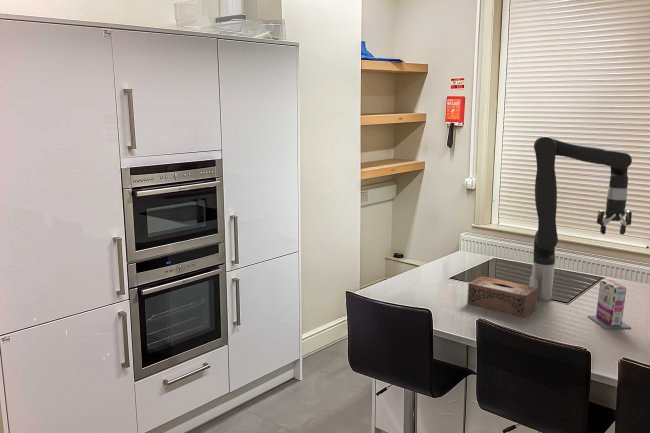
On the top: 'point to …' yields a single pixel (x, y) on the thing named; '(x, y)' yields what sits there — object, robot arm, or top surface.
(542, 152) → the robot arm
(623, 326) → the coaster
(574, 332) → the top surface
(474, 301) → the tissue box cover
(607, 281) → the candy bar box
